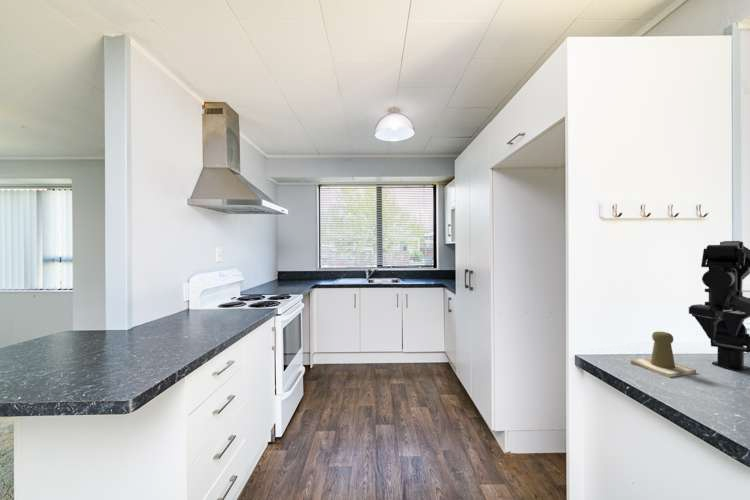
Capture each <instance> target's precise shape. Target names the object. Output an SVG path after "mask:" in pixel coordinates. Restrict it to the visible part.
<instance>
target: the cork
mask: <svg viewBox="0 0 750 500" xmlns="http://www.w3.org/2000/svg"><path fill="white" fill-rule="evenodd" d="M651 337H652V340H653V341H654V342H653V346H652V354H651V357H650V358H651V364H652V365H655V366H657V367H661V368H668V369H673V368H675V359H674V353H673V347H672V343H673V342H674V336H673V335H672V334H671V333H669V332H665V331H654V332H653V333H652V335H651Z"/></svg>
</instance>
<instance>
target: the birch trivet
mask: <svg viewBox="0 0 750 500" xmlns="http://www.w3.org/2000/svg"><path fill="white" fill-rule="evenodd" d="M651 358H652V357H646V358H639V359H633V360H630V364H631V365H634V366H637V367H639V368H642V369H645V370H648V371H650V372H653V373H657V374H660V375H662V376H665V377H668V378H673V377H678V376H679V377H680V376H684V375H690V374H691V375H692V374H696V373H697V369H695V368H693V367H689V366H685V365H682V364H679V363H675V362H674V363H675V368H673V369H668V368H661V367H657V366H655V365H652V364H651Z"/></svg>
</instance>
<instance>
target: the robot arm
mask: <svg viewBox="0 0 750 500" xmlns="http://www.w3.org/2000/svg"><path fill="white" fill-rule="evenodd" d="M702 252H703V253H702V258H701V265H700V267H701V268H708V270H707V271H705V273H704V274H702V277H701V281H702V283H703V284H704V285H705V286H706V287H708V288H704V293H708V301H705V302H704V304H701V303H700V304H692V305H690V306H688V315H691V316H692V317H694V318H695V320H696V322H698V324H699V325H700V326H701V328H702V330H703V332H704V333H705V334H706V336H707V338H708V339H709V341H710V347H714V348H717V359H716V360H717V361H712V362H711V365H714V366H715V365H716V366H718V367H722V368H725V369H728V370H731V371H736V372H741V371H745V370H750V366H747V365H744V364H745V353H748V354H750V333H748V330H747V328H746V325H745V324H744V321H745V320H747V319H749V318H750V297H747V296H744V293H743V280H744V279H746V278H747V277H748V276H749V275H750V248H749V247H746V246H744V241H741V240H724V241H720V243H719V244H708V245H707V246H706V248H703V250H702Z"/></svg>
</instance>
